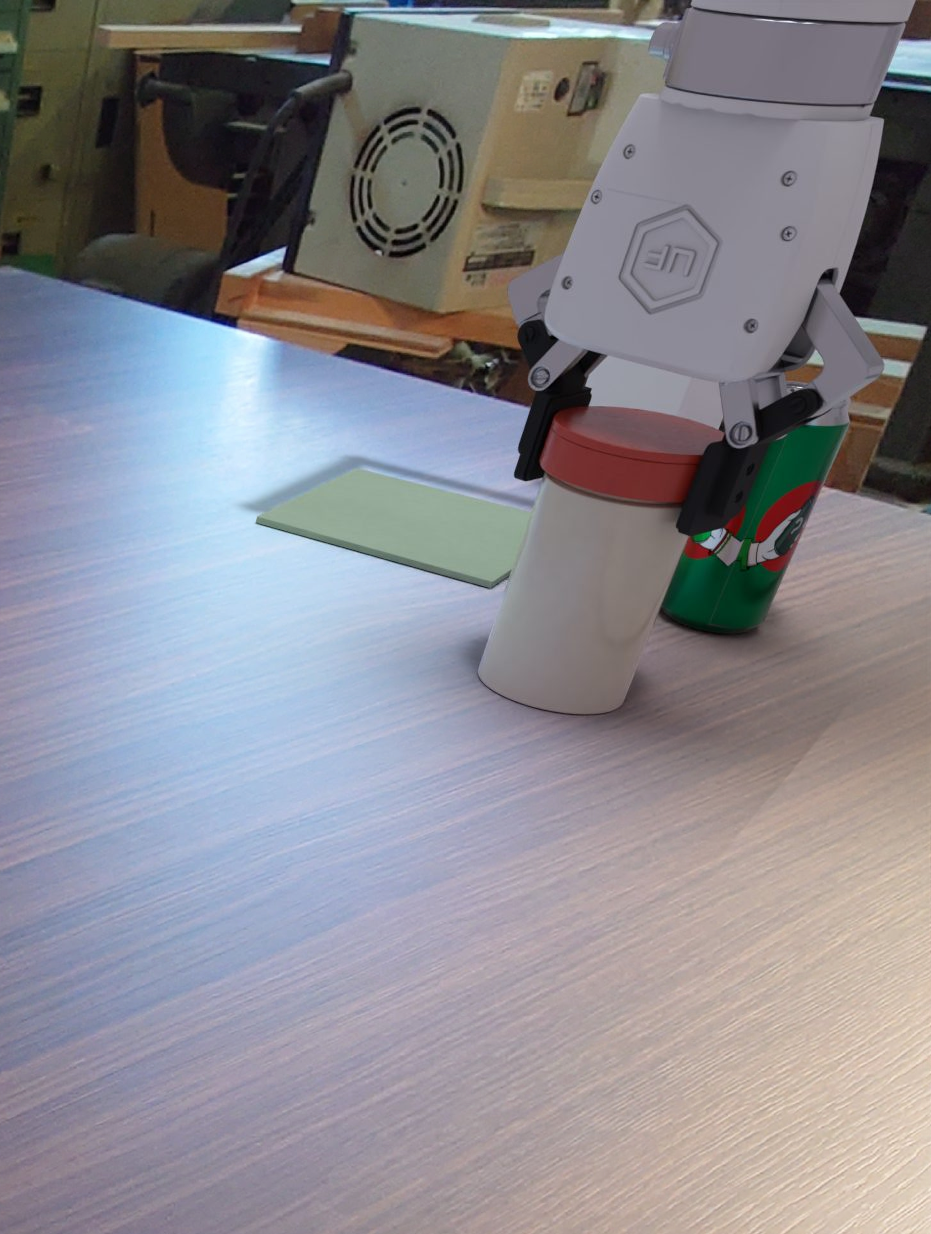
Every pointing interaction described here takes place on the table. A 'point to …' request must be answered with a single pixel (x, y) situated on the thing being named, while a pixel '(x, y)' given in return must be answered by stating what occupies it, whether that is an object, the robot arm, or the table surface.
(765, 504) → the soda can
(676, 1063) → the table surface
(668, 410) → the milk
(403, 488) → the mat
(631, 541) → the jar
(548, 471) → the lid
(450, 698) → the table surface
